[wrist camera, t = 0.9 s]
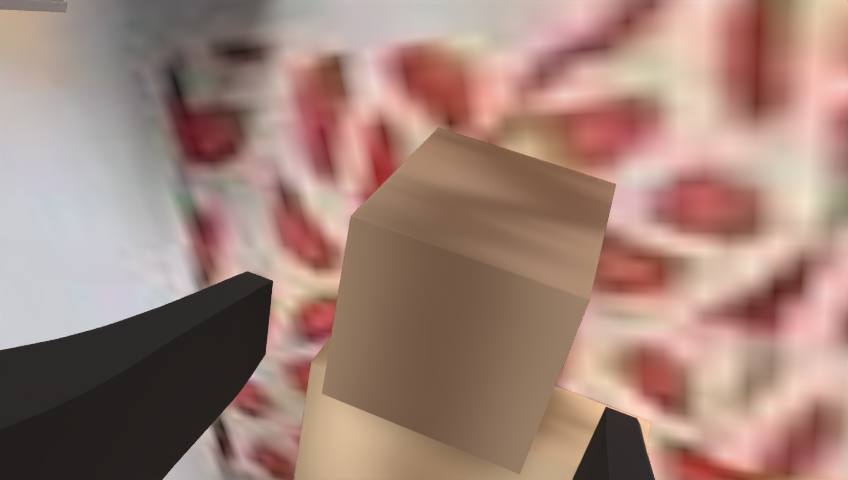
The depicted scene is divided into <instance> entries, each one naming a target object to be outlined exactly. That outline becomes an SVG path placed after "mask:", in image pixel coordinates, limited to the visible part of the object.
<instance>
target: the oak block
mask: <svg viewBox="0 0 848 480" xmlns="http://www.w3.org/2000/svg"><path fill="white" fill-rule="evenodd" d="M330 340H331V338H330V339H329V340H328V341H327V343H326V344H325V345H324V347H323V348H322V349H321V350H320V352H319V353H318V354H317V356H316V357H315V358H314V359H313V361H312V362H311V368H310V374H309V381H308V388H307V395H306V401H305V408H304V415H303V421H302V428H301V435H300V441H299V448H298V455H297V462H296V468H295V475H294V480H573V476H574V474H575V472H576V470H577V468H578V466H579V463H580V461H581V459H582V457H583V455H584V453H585V451H586V448H587V446H588V444H589V442H590V440H591V438H592V435H593V433H594V431H595V429H596V427H597V425H598V422H599V420H600V418H601V416H602V414H603V412H604V409H605V407H609V406H606V405H604V404H601V403H599V402H596V401H593V400H591V399H588V398H585V397H583V396H580V395H578V394H575V393H572V392H570V391H567V390H564V389H562V388H559V387H556V386H555V388H554V390H553V393H552V395H551V398H550V400H549V403H548V405H547V408H546V410H545V413H544V415H543V418H542V420H541V423H540V425H539V428H538V430H537V433H536V435H535V438H534V440H533V443H532V445H531V448H530V450H529V453H528V455H527V458H526V460H525V463H524V465H523V468H522V470H521V473H520V474H518V473H515V472H513V471H510V470H508V469H505V468H503V467H500V466H498V465H496V464H493V463H491V462H488V461H486V460H483V459H481V458H478V457H476V456H473V455H471V454H469V453H466V452H464V451H461V450H459V449H456V448H454V447H451V446H449V445H446V444H444V443H442V442H439V441H437V440H434V439H432V438H429V437H427V436H424V435H422V434H419V433H417V432H415V431H412V430H410V429H407V428H405V427H402V426H400V425H397V424H395V423H392V422H390V421H388V420H385V419H383V418H380V417H378V416H375V415H373V414H370V413H368V412H365V411H363V410H361V409H358V408H356V407H353V406H351V405H348V404H346V403H343V402H341V401H338V400H336V399H334V398H331V397H329V396H326V395H324V394H322V389H323V383H324V376H325V370H326V364H327V358H328V352H329V346H330ZM609 408H611V409H614V408H612V407H609ZM614 410H617V409H614ZM617 411H619V412H622V411H620V410H617ZM622 413H625V412H622ZM625 414H627V413H625ZM627 415H630V414H627ZM630 416H633V415H630ZM633 417H635V416H633ZM635 418H637V419H638V421H639V423H640V425H641V430H642V434H643V438H644V442H645V446H646V450H647V454H648V455H649V439H650V424H651V422H649V421H646V420H643V419H641V418H638V417H635Z"/></svg>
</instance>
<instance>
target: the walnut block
mask: <svg viewBox="0 0 848 480" xmlns="http://www.w3.org/2000/svg"><path fill="white" fill-rule="evenodd" d="M615 186H616V184H614V183H611V182H608V181H605V180H602V179H599V178H595V177H592V176H589V175H586V174H583V173H580V172H577V171H573V170H570V169H567V168H564V167H561V166H558V165H555V164H552V163H548V162H545V161H542V160H539V159H536V158H533V157H530V156H526V155H523V154H520V153H517V152H514V151H511V150H508V149H505V148H501V147H498V146H495V145H492V144H489V143H486V142H483V141H479V140H476V139H473V138H470V137H467V136H464V135H461V134H458V133H454V132H451V131H448V130H445V129H442V128H438V129H437V130H436V131H435V132H434V133H433V134H432V135H431V136H430V137H429V138H428V139H427V140H426V141H425V142H424V143H423V144H422V145H421V146H420V147H419V148H418V149H417V150H416V151H415V152H414V153H413V154H412V155H411V156H410V157H409V158H408V159H407V160H406V161H405V162H404V163H403V164H402V165H401V166H400V167H399V168H398V169H397V170H396V171H395V172H394V173H393V174H392V175H391V176H390V177H389V178H388V179H387V180H386V181H385V182H384V183H383V184H382V185H381V186H380V187H379V188H378V189H377V190H376V191H375V192H374V193H373V194H372V195H371V196H370V197H369V198H368V199H367V200H366V201H365V202H364V203H363V204H362V205H361V206H360V207H359V208H358V209H357V210H356V211H355V212H354V213H353V214H352V215H351V218H350V224H349V230H348V236H347V242H346V248H345V255H344V261H343V267H342V273H341V279H340V285H339V291H338V297H337V303H336V309H335V315H334V322H333V328H332V334H331V340H330V346H329V352H328V358H327V364H326V370H325V376H324V383H323V389H322V394H324V395H326V396H329V397H331V398H334V399H336V400H338V401H341V402H343V403H346V404H348V405H351V406H353V407H356V408H358V409H361V410H363V411H365V412H368V413H370V414H373V415H375V416H378V417H380V418H383V419H385V420H388V421H390V422H392V423H395V424H397V425H400V426H402V427H405V428H407V429H410V430H412V431H415V432H417V433H419V434H422V435H424V436H427V437H429V438H432V439H434V440H437V441H439V442H442V443H444V444H446V445H449V446H451V447H454V448H456V449H459V450H461V451H464V452H466V453H469V454H471V455H473V456H476V457H478V458H481V459H483V460H486V461H488V462H491V463H493V464H496V465H498V466H500V467H503V468H505V469H508V470H510V471H513V472H515V473H518V474H520V473H521V470H522V468H523V465H524V463H525V460H526V458H527V455H528V453H529V450H530V448H531V445H532V443H533V440H534V438H535V435H536V433H537V430H538V428H539V425H540V423H541V420H542V418H543V415H544V413H545V410H546V408H547V405H548V403H549V400H550V398H551V395H552V393H553V390H554V388H555V385H556V383H557V380H558V378H559V375H560V373H561V370H562V368H563V365H564V363H565V360H566V358H567V355H568V353H569V350H570V348H571V345H572V343H573V340H574V338H575V335H576V333H577V330H578V328H579V325H580V323H581V320H582V318H583V315H584V313H585V310H586V308H587V305H588V303H589V301H590V296H591V292H592V288H593V283H594V279H595V274H596V270H597V265H598V261H599V257H600V252H601V248H602V243H603V239H604V235H605V230H606V226H607V221H608V217H609V212H610V208H611V204H612V199H613V195H614V190H615Z"/></svg>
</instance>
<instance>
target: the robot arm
mask: <svg viewBox="0 0 848 480" xmlns="http://www.w3.org/2000/svg"><path fill="white" fill-rule="evenodd" d="M272 286H273V281H272V280H269V279H267V278H264V277H261V276H259V275H256V274H253V273H251V272H248V271H247V272H245V273H242V274H239V275H237V276H234V277H232V278H229V279H227V280H225V281H222V282H220V283H217V284H215V285H213V286H210V287H208V288H205V289H203V290H201V291H198V292H196V293H193V294H191V295H188V296H186V297H183V298H181V299H179V300H176V301H174V302H171V303H169V304H166V305H164V306H161V307H158V308H155V309H153V310H150V311H147V312H144V313H141V314H138V315H136V316H133V317H130V318H127V319H124V320H122V321H119V322H116V323H113V324H109V325H106V326H103V327H100V328H96V329H93V330H89V331H86V332H82V333H78V334H74V335H70V336H67V337H63V338H59V339H54V340H50V341H45V342H40V343H35V344H30V345H25V346H20V347H15V348H10V349H4V350H0V480H163V478H164V477H165V476H166V475H167V474H168V472H169V471H170V470H171V469H172V468H173V466H174V465H175V464H176V463H177V462H178V461H179V460H180V459H181V458H182V456H183V455H184V454H185V453H186V452H187V451H188V450H189V449H190V448H191V446H192V445H193V444H194V443H195V442H196V441H197V440H198V439H199V438H200V436H201V435H202V434H203V433H204V432H205V431H206V430H207V429H208V428H209V426H210V425H211V424H212V423H213V422H214V421H215V420H216V419H217V417H218V416H219V415H220V414H221V413H222V412H223V411H224V410H225V408H226V407H227V406H228V405H229V404H230V403H231V402H232V401H233V399H234V398H235V397H236V396H237V395H238V394H239V392H240V391H241V390H242V388H243V387H244V385H245V384H246V383H247V381H248V380H249V378H250V377H251V375H252V374H253V372H254V371H255V369H256V368H257V366H258V365H259V363H260V362H261V360H262V359H263V357H264V356H265V354H266V344H267V334H268V325H269V315H270V305H271V295H272ZM573 480H655V478H654V474H653V471H652V468H651V464H650V461H649V457H648V454H647V450H646V446H645V442H644V438H643V434H642V430H641V425H640V423H639V421H638V419H637V418H635V417H633V416H630V415H627V414H625V413H622V412H619V411H617V410H614V409H611V408H609V407H605V409H604V412H603V414H602V416H601V418H600V420H599V422H598V425H597V427H596V429H595V431H594V433H593V435H592V438H591V440H590V442H589V444H588V446H587V448H586V451H585V453H584V455H583V457H582V459H581V461H580V463H579V466H578V468H577V470H576V472H575V474H574V476H573Z"/></svg>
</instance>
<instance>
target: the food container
mask: <svg viewBox="0 0 848 480" xmlns="http://www.w3.org/2000/svg"><path fill="white" fill-rule="evenodd" d="M66 8H67V3H66V2H64V1H62V0H0V9H5V10H27V11H50V12H66Z"/></svg>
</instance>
